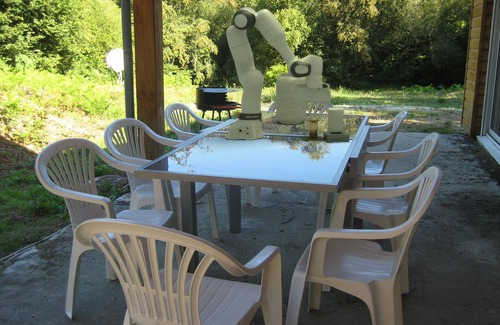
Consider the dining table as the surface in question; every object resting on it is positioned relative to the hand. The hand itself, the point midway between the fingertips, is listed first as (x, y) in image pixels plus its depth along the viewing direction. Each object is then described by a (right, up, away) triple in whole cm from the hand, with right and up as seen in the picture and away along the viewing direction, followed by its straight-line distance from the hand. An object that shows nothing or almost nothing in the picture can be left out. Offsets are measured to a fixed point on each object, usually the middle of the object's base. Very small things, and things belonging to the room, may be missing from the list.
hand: (311, 109), depth 276 cm
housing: (+13, -17, -2) cm, 22 cm away
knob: (+1, -16, +4) cm, 16 cm away
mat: (+1, -16, +4) cm, 16 cm away
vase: (-7, -3, +62) cm, 62 cm away
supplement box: (+16, -12, +19) cm, 28 cm away
